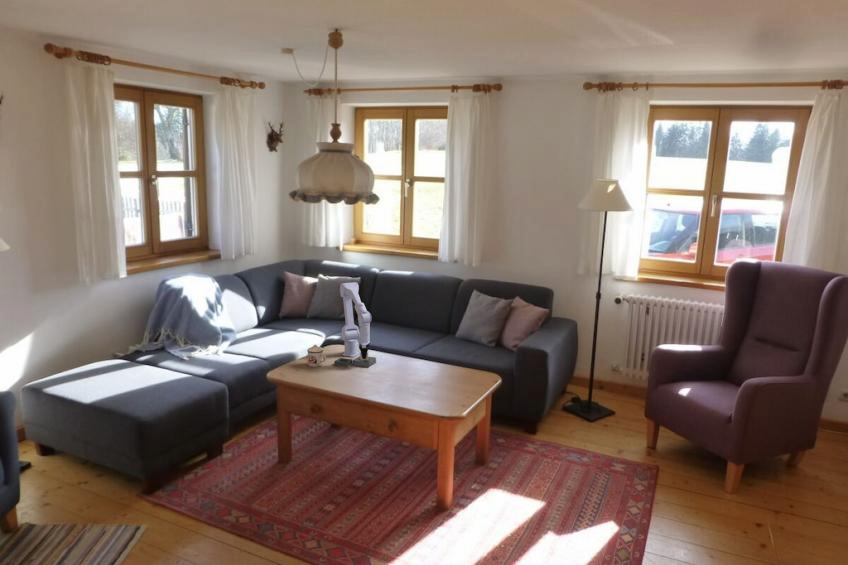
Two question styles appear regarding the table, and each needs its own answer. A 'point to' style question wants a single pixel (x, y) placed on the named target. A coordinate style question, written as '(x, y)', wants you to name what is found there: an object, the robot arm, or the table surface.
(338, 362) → the grey hollow square frame
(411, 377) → the table surface
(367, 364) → the port
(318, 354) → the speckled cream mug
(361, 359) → the plug
